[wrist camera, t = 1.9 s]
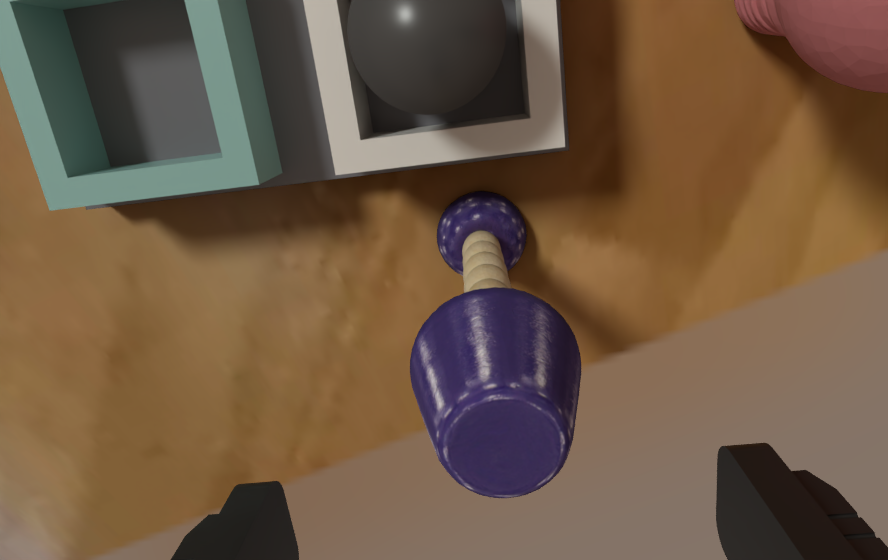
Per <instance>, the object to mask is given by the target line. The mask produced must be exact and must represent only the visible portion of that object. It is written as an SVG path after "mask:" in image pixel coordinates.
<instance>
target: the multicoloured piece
mask: <svg viewBox="0 0 888 560" xmlns="http://www.w3.org/2000/svg"><path fill="white" fill-rule="evenodd" d="M0 67H1V70H2V73H3V76H4V79H5V82H6V85H7V88H8V91H9V94H10V96H11V99H12V102H13V105H14V108H15V111H16V114H17V117H18V120H19V123H20V126H21V128H22V131H23V134H24V137H25V140H26V143H27V146H28V149H29V152H30V155H31V158H32V160H33V163H34V166H35V169H36V172H37V175H38V178H39V181H40V184H41V187H42V190H43V192H44V195H45V198H46V201H47V204H48V207H49V210H50V211H51V210H59V209H67V208H75V207H83V206H85V207H86V210H87V209H95V208H104V207H112V206H120V205H128V204H136V203H144V202H152V201H161V200H169V199H177V198H185V197H193V196H201V195H209V194H217V193H226V192H234V191H242V190H250V189H258V188H266V187H274V186H283V185H291V184H299V183H307V182H315V181H323V180H331V179H340V178H348V177H356V176H364V175H372V174H380V173H388V172H396V171H405V170H413V169H421V168H429V167H437V166H445V165H453V164H462V163H470V162H478V161H486V160H494V159H502V158H510V157H519V156H527V155H535V154H543V153H551V152H559V151H567V150H569V138H568V122H567V106H566V89H565V73H564V57H563V41H562V24H561V8H560V0H0Z"/></svg>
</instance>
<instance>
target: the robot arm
mask: <svg viewBox="0 0 888 560" xmlns="http://www.w3.org/2000/svg"><path fill="white" fill-rule="evenodd" d="M716 504H717V505H716V521H717V528H718V534H719V538H720V542H721V545H722V548H723V550H724V552H725V555H726V557H727V559H728V560H888V547H887V546H886V545H885V544H884V543H883V541H882V540H881V539H880V538H876V537H875V533H874V531H873V530H872V529H871V528H870V527H869V526H868V524H867V523H866V522H865V521H864V520H863V519H862V518H861V517H860V518H859V517H858V515H857V512H856V511H855V510H854V509H853V508H852V506H851V505H850V504H849V503H848V502H847V501H846V500H845V498H844V497H843V496H842V495H841V494H840V493H839V492H838V491H837V489H835V488H834V487H832V486H831V485H829V484H827V483H826V482H824V481H823V480H821V479H819V478H818V477H816V476H815V475H813V474H811V473H810V472H808V471H806V470H800V471H791V470H790V469H789V468H788V467H787V466H786V464H785V463H784V462H783V460H782V459H781V458H780V457H779V456H778V454H777V453H776V452H775V451H774V450H773V448H772V447H771V446H770V445H769V444H767V443H756V444H744V445H732V446H722V447H721V448H720V449H719V451H718V462H717V503H716ZM171 560H299V553H298V546H297V541H296V537H295V533H294V530H293V525H292V522H291V518H290V514H289V510H288V506H287V502H286V498H285V494H284V490H283V487H282V485H281V484H280V483H279V482H278V481H272V482H260V483H247V484H238V485H236V486H235V487H234V489H233V490H232V492H231V494H230V496H229V497H228V499H227V501H226V503H225V504H224V506H223V508H222V510H221V511H220V513H219V514H212V515H208V516H207V517H206V518H205V519H203V520H202V521H201V522H200V523H199V524H198V525H197V526H196V527H195V528H194V529H193V530H191V531H190V532H189V533H188V534H187V535H186V536H185V537H184V539H183V541H182V542H181V544H180V546H179V547H178V549H177V550H176V552H175V554H174V555H173V557H172V559H171Z"/></svg>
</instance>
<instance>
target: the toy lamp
mask: <svg viewBox="0 0 888 560" xmlns="http://www.w3.org/2000/svg"><path fill="white" fill-rule="evenodd" d="M526 236H527V235H526V226H525V223H524V220H523V218H522V216H521V214H520V212H519V210H518V209H517V208H516V206H514V204H513V203H511V202H510V201H509V200H507V199H506V198H505V197H503V196H501V195H498V194H496V193H492V192H484V191H478V192H473V193H469V194H467V195H464V196H462V197H460V198H458V199H457V200H456V201H454V202H453V203H451V204H450V205H449V206H448V208H447V209H446V210H445V211H444V212H443V214H442V217H441V219H440V221H439V224H438V229H437V243H438V247H439V251H440V253H441V255H442V257H443V259H444V260H445V262H446V263H447V264H448V265H449V266H450V267H451V268H452V269H453V270H454V271H456V272H457V273H459V274H460V275H462V276H463V280H464V293H463V294H461V295H459V296H456V297H454V298H452V299H450V300H449V301H447V302H445V303H444V304H442V305H441V306H440V307H439V308H438V309H437V310H436V311H435V312H433V313H432V314H431V316H430V317H429V318H428V319H427V321H426V322H425V323H424V324H423V325H422V327H421V329H420V331H419V333H418V335H417V337H416V339H415V342H414V345H413V348H412V353H411V359H410V375H411V382H412V388H413V391H414V394H415V397H416V399H417V402H418V405H419V408H420V411H421V414H422V417H423V420H424V423H425V425H426V428H427V431H428V433H429V436H430V439H431V441H432V444H433V446H434V449H435V451H436V454H437V456H438V458H439V461H440V462H441V464H442V465H443V466H444V468H445V469H446V470H447V472H448V473H449V474H450V475H451V476H452V477H453V478H454V479H455V480H456V481H457V482H458V483H459V484H461V485H462V486H464V487H465V488H467V489H468V490H470V491H473V492H475V493H477V494H479V495H483V496H488V497H494V498H511V497H518V496H522V495H526V494H528V493H531V492H533V491H536V490H538V489H540V488H541V487H543V486H544V485H545V484H547V483H548V482H550V481H551V480H552V479H553V477H555V476H556V475H557V474H558V472H559V471H560V470H561V468H562V467H563V465H564V463H565V460H566V459H567V456H568V454H569V451H570V447H571V444H572V440H573V434H574V427H575V419H576V411H577V404H578V396H579V387H580V378H581V358H580V352H579V348H578V344H577V341H576V338H575V335H574V334H573V332H572V330H571V328H570V326H569V325H568V324H567V322H566V321H565V319H564V318H563V317H562V316H561V315H560V314H559V313H558V312H557V311H556V310H555V309H554V308H553V307H551V306H550V304H548V303H546V302H544V301H543V300H542V299H540V298H537V297H535V296H533V295H531V294H529V293H527V292H525V291H519V290H516V289H512V288H511V283H510V280H509V278H508V271H509V270H510V269H511V268H512V267H513V266H514V265H515V264H516V263H517V262H518V260H519V259H520V257H521V255H522V253H523V250H524V247H525V244H526Z"/></svg>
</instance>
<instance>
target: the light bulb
mask: <svg viewBox="0 0 888 560" xmlns="http://www.w3.org/2000/svg"><path fill="white" fill-rule="evenodd" d="M734 2H735V6H736V10H737V13H738V15H739V17H740V19H741V20H742V21H743V23H744V24H745V25H746V26H748V27H749V28H750V29H752V30H754V31H756V32H759V33H762V34H769V35H776V36H785V37H786V38H787V40H788V41H789V43H790V45H791V46H792V48H793V49H794V50H795V52H796V53H797V54H798V56H799V57H800V58H801V59H802V60H803V61H804V62H806V63H807V64H808V65H809V66H811V67H812V68H813V69H814V70H816V71H817V72H819V73H820V74H822V75H823V76H825V77H827V78H829V79H831V80H833V81H835V82H837V83H839V84H842V85H846V86H849V87H852V88H856V89H859V90H864V91H871V92H879V93H888V0H734Z"/></svg>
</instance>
